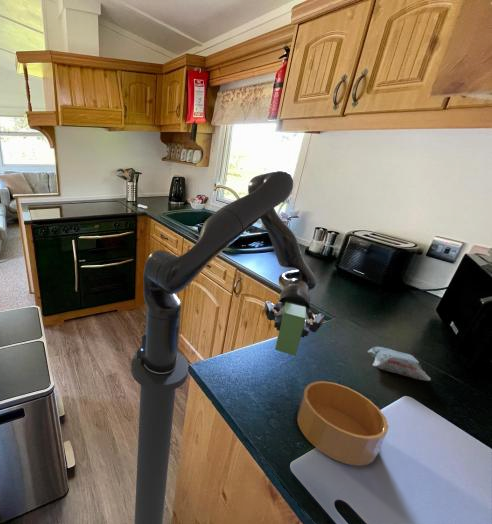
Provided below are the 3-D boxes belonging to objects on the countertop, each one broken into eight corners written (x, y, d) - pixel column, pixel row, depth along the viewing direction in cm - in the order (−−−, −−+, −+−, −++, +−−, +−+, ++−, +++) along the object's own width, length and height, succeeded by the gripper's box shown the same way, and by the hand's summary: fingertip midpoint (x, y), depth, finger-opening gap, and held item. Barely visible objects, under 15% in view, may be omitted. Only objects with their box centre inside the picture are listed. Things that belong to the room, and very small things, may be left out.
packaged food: (426, 387, 74) (433, 372, 73) (370, 371, 79) (375, 356, 78) (415, 368, 82) (422, 353, 80) (364, 354, 87) (369, 340, 85)
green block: (275, 349, 68) (283, 312, 65) (277, 337, 73) (285, 302, 70) (295, 356, 66) (305, 318, 63) (296, 342, 71) (306, 307, 68)
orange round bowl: (295, 442, 58) (303, 416, 56) (298, 396, 70) (304, 372, 68) (383, 480, 52) (396, 452, 50) (369, 422, 64) (380, 397, 61)
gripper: (269, 282, 81) (260, 307, 67) (327, 295, 75) (332, 325, 61) (264, 306, 84) (255, 334, 70) (320, 320, 78) (322, 354, 63)
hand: (290, 330), depth 65 cm, fingers closed on green block, 4 cm apart
